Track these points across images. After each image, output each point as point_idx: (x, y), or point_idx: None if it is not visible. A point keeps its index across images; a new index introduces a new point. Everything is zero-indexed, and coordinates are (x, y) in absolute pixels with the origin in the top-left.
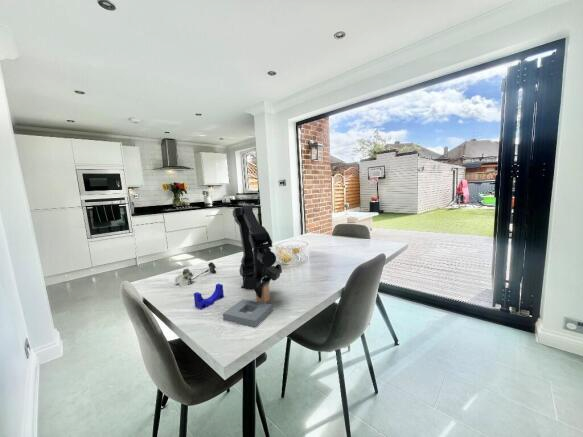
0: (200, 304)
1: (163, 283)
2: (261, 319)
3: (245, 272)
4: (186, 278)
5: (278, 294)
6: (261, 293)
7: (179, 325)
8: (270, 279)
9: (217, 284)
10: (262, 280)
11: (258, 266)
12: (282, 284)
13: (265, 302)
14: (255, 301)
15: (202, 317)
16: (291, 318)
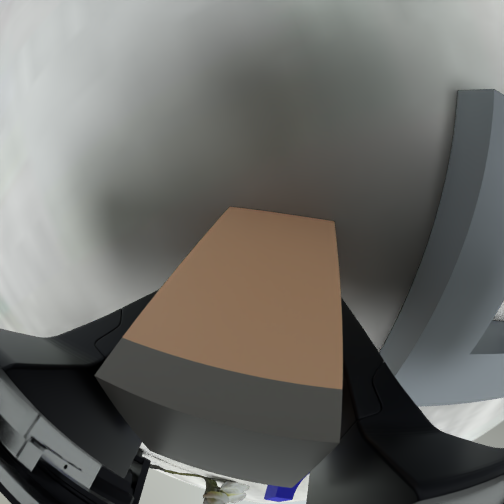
0: None
1: (247, 494)
2: None
3: (129, 480)
4: (222, 492)
5: (115, 166)
6: (342, 328)
7: (482, 434)
8: (32, 366)
9: (276, 500)
10: (129, 429)
11: None
12: (22, 216)
13: (318, 221)
14: (431, 315)
15: (459, 426)
16: None
